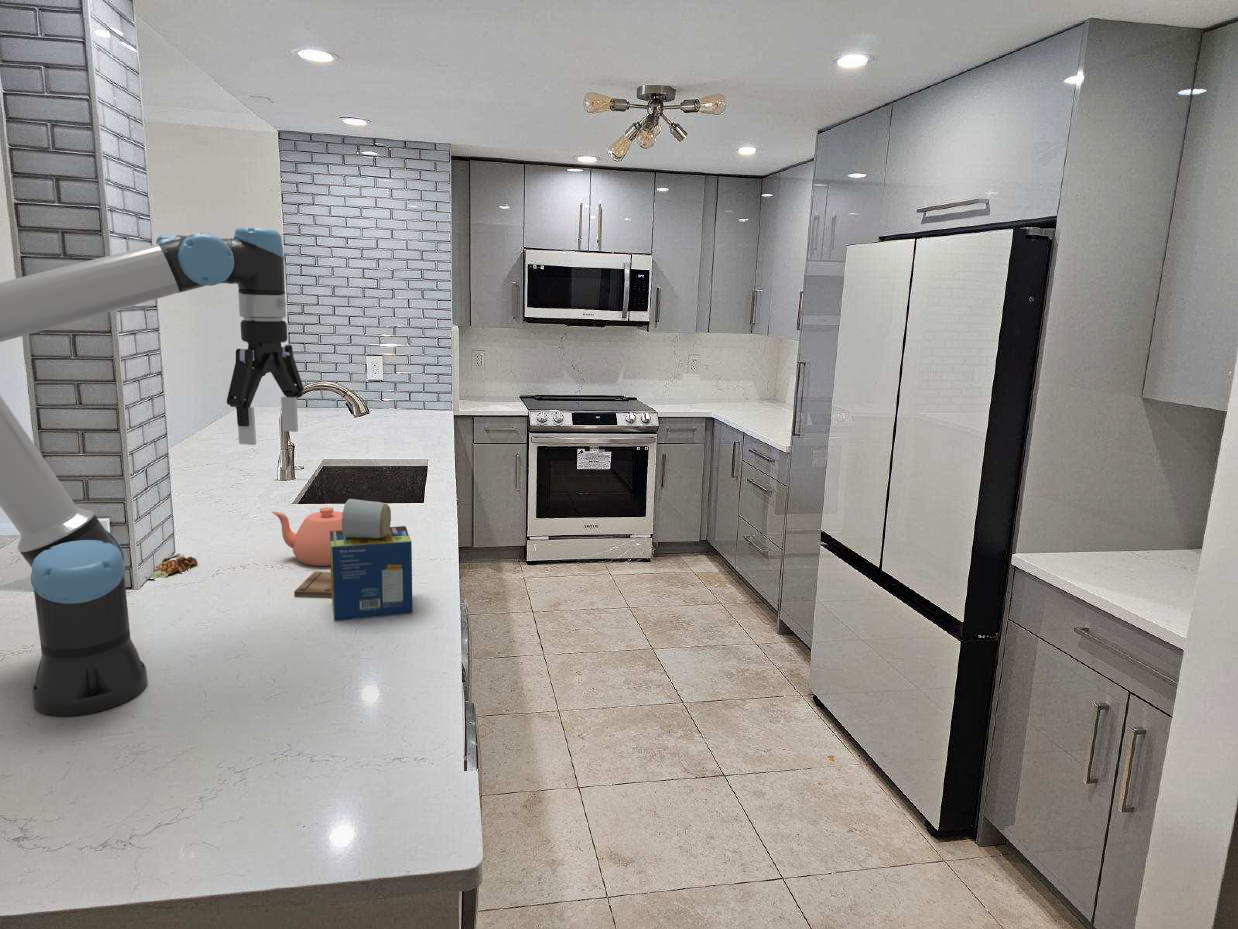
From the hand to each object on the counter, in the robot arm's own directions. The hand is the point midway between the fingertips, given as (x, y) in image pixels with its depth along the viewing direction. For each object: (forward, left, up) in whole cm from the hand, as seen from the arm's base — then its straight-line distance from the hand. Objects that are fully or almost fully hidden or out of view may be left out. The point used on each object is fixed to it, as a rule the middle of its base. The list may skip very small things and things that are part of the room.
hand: (270, 437), depth 146 cm
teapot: (+37, +11, -37) cm, 53 cm away
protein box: (+12, -13, -37) cm, 41 cm away
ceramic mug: (+12, -13, -22) cm, 28 cm away
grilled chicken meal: (+20, +39, -37) cm, 58 cm away
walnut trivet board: (+20, +2, -37) cm, 42 cm away
